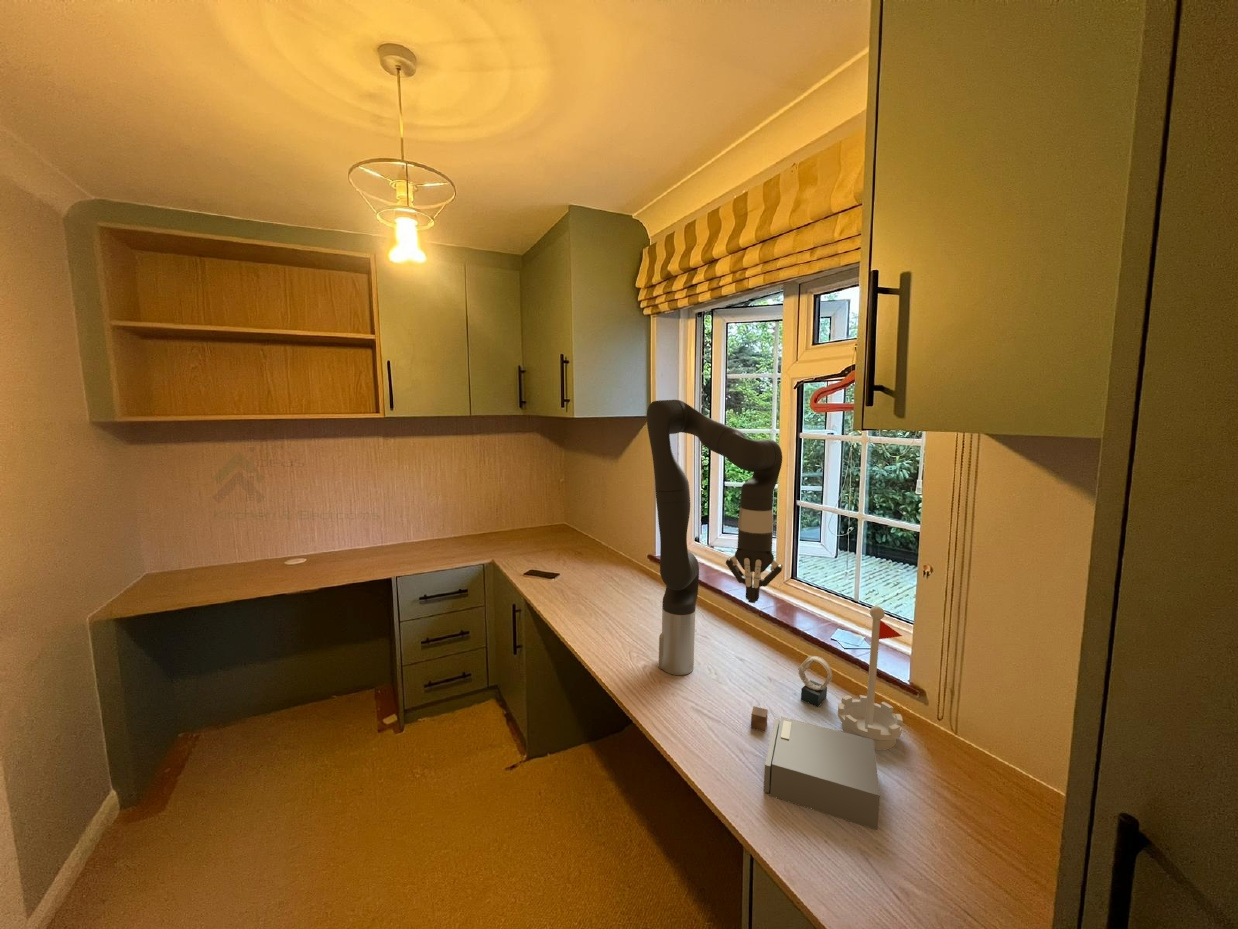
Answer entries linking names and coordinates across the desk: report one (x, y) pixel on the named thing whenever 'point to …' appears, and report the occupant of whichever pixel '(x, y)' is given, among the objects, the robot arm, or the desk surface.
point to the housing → (826, 771)
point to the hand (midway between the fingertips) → (752, 601)
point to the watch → (814, 690)
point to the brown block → (759, 718)
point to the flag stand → (872, 698)
